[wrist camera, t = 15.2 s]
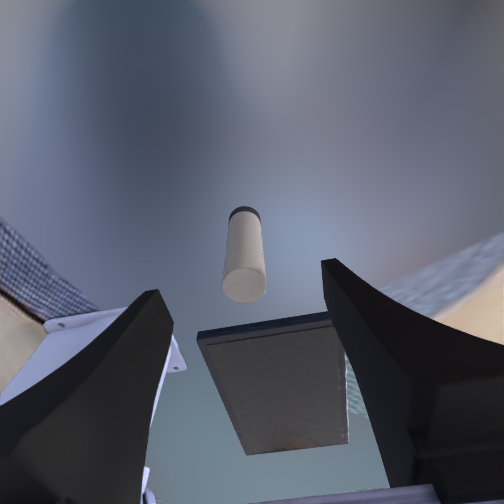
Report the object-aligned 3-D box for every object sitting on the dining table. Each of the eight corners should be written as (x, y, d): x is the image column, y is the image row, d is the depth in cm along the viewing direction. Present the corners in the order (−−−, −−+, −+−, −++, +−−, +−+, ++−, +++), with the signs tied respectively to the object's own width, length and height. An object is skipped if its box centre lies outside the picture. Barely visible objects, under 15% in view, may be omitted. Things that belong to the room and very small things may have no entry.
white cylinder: (232, 237, 19) (227, 307, 13) (225, 209, 18) (215, 272, 12) (262, 231, 19) (270, 300, 13) (257, 203, 18) (263, 263, 12)
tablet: (245, 446, 34) (246, 456, 33) (197, 331, 24) (195, 341, 23) (346, 434, 33) (349, 444, 32) (341, 308, 23) (345, 318, 22)
